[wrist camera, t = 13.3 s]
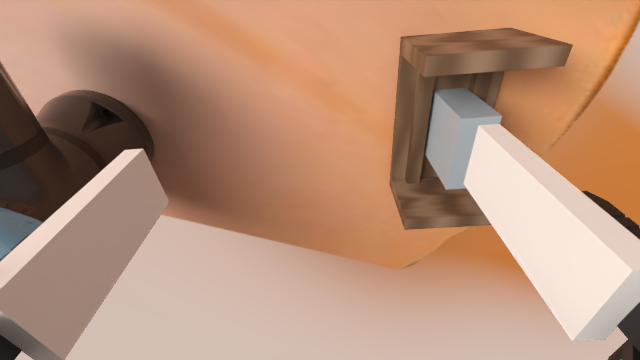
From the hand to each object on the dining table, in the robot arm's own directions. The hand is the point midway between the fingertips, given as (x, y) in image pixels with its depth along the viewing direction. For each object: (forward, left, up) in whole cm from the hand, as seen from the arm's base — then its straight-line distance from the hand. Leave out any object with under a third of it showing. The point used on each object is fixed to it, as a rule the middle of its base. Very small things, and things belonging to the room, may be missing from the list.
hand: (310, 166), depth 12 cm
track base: (+18, -13, -32) cm, 39 cm away
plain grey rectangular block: (+18, -13, -30) cm, 38 cm away
